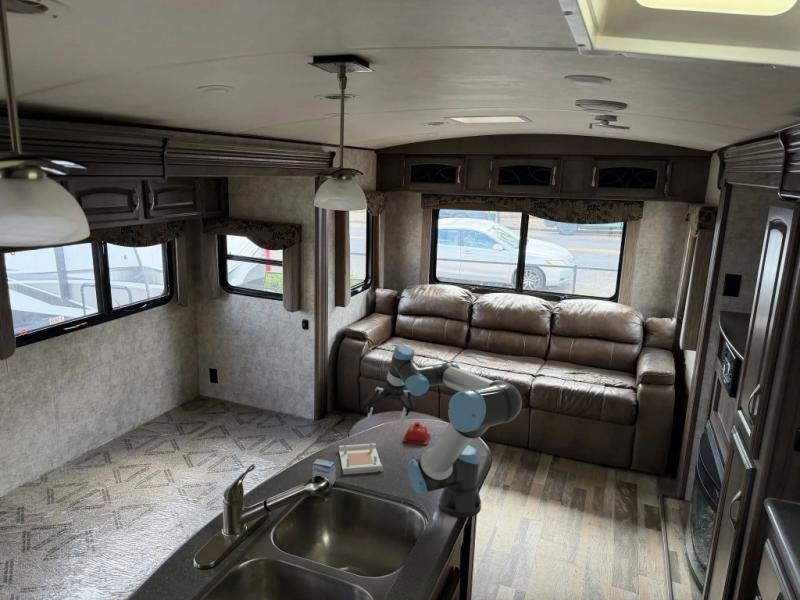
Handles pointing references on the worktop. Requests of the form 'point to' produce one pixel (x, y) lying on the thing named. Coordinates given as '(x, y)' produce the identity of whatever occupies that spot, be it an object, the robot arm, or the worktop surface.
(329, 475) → the medicine box
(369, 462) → the pin tray
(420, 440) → the butter dish
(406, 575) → the worktop surface
